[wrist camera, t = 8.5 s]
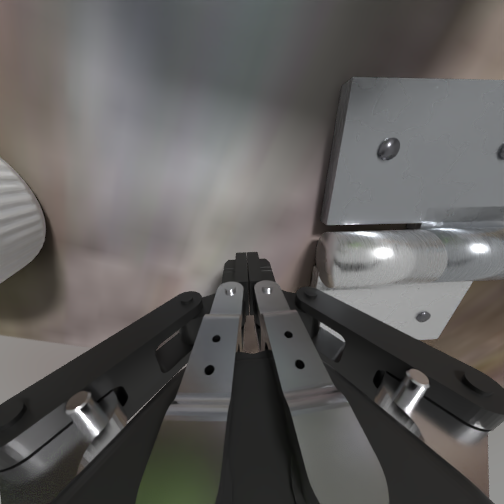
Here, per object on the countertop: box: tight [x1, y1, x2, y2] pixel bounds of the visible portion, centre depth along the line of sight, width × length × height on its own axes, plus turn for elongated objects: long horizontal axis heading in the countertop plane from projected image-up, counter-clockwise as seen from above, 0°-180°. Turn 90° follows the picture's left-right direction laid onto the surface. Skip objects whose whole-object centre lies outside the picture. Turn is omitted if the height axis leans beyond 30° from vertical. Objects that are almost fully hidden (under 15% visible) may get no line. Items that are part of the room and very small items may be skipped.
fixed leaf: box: [320, 77, 504, 283], centre depth 12 cm, size 15×12×4 cm
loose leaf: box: [310, 229, 473, 342], centre depth 15 cm, size 14×12×4 cm
